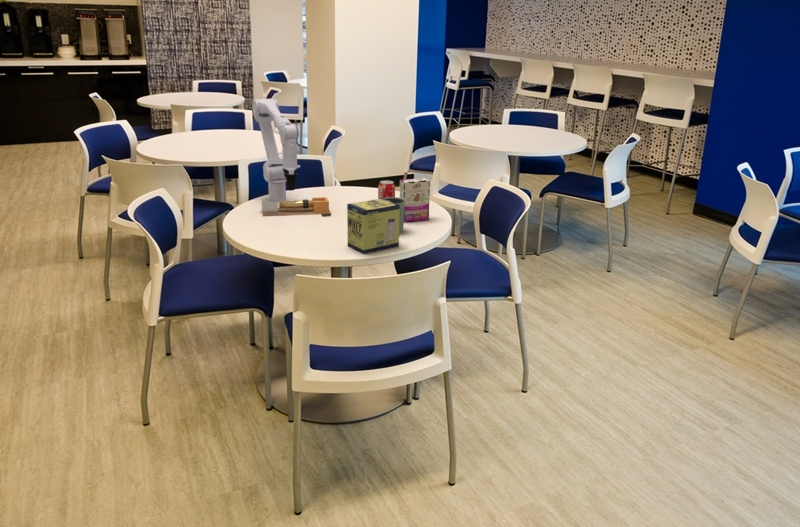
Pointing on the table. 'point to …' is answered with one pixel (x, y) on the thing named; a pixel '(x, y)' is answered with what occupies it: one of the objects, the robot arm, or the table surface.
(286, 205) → the inner tube
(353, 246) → the protein box
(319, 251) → the table surface
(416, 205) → the candy bar box
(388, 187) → the soda can
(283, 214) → the base board
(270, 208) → the outer sleeve
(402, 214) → the grey cup
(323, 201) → the socket block
